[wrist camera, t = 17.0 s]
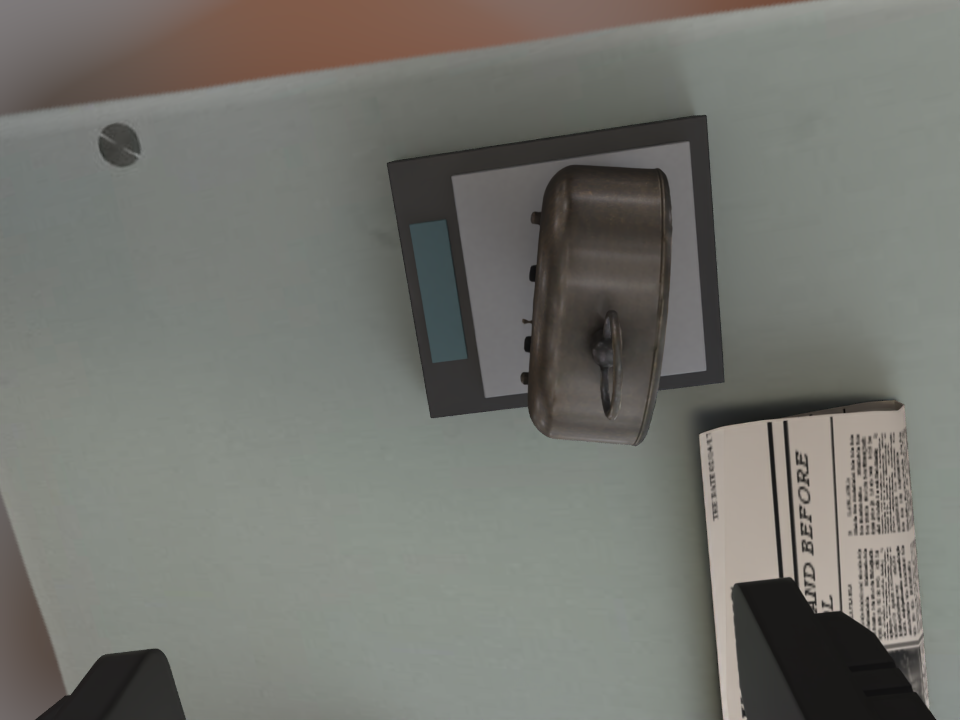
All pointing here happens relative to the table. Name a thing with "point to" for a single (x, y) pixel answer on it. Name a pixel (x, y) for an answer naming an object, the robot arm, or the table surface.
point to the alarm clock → (599, 303)
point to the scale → (513, 250)
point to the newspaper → (816, 525)
